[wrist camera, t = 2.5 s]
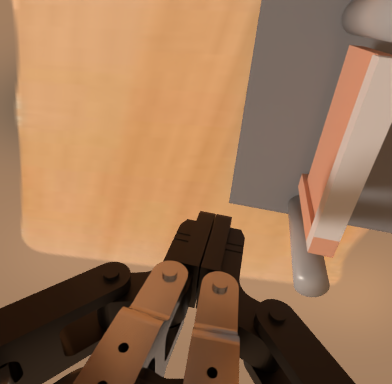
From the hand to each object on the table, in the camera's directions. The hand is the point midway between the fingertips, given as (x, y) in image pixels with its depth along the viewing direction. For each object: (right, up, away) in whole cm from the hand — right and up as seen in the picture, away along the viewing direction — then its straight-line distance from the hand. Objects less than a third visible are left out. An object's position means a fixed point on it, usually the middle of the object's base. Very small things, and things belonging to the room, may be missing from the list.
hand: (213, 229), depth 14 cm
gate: (+8, +7, +7) cm, 13 cm away
